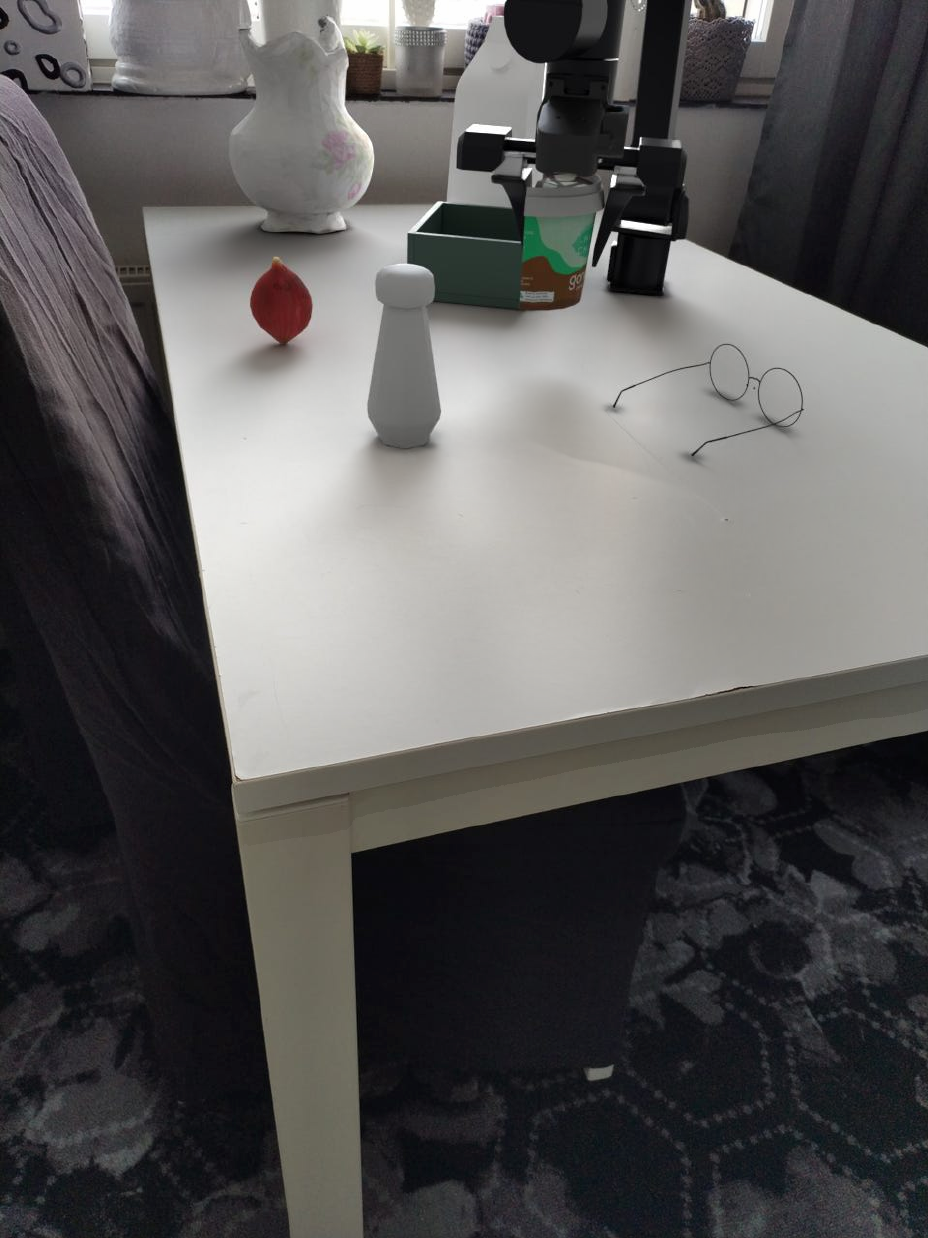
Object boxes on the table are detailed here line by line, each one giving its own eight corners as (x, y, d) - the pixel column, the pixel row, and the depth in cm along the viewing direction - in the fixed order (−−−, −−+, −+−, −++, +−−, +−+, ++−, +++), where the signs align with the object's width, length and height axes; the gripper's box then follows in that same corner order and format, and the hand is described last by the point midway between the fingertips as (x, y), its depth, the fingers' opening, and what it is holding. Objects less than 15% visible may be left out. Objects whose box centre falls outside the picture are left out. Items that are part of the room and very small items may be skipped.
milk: (558, 240, 126) (580, 20, 110) (518, 256, 118) (536, 20, 102) (486, 226, 131) (498, 13, 115) (443, 240, 123) (450, 13, 107)
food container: (587, 321, 75) (603, 194, 70) (516, 314, 76) (525, 187, 70) (598, 282, 85) (612, 167, 79) (535, 276, 86) (544, 162, 80)
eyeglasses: (699, 462, 69) (713, 401, 66) (604, 403, 78) (613, 347, 75) (802, 439, 74) (820, 381, 71) (702, 386, 83) (714, 332, 80)
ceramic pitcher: (272, 210, 137) (244, 16, 123) (395, 209, 135) (381, 11, 120) (223, 244, 120) (183, 23, 105) (362, 244, 118) (341, 18, 103)
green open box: (540, 269, 113) (546, 210, 109) (525, 310, 99) (531, 244, 95) (436, 259, 114) (437, 200, 110) (406, 298, 100) (407, 232, 96)
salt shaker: (367, 421, 73) (364, 255, 65) (437, 422, 73) (442, 257, 65) (367, 452, 68) (364, 277, 60) (442, 453, 68) (448, 279, 61)
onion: (324, 338, 88) (320, 254, 83) (297, 357, 84) (291, 269, 79) (272, 329, 89) (265, 246, 85) (242, 347, 85) (234, 260, 80)
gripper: (447, 55, 64) (441, 277, 74) (707, 73, 62) (667, 299, 72) (472, 46, 73) (463, 245, 83) (700, 62, 71) (664, 263, 81)
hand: (560, 262), depth 79 cm, fingers closed on food container, 6 cm apart
